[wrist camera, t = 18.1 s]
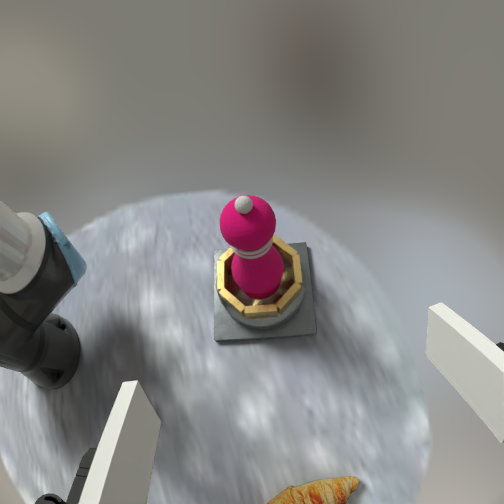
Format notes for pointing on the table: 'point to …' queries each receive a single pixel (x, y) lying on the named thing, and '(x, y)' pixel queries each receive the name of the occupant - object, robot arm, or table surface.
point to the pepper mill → (252, 245)
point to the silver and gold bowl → (265, 300)
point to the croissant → (319, 492)
